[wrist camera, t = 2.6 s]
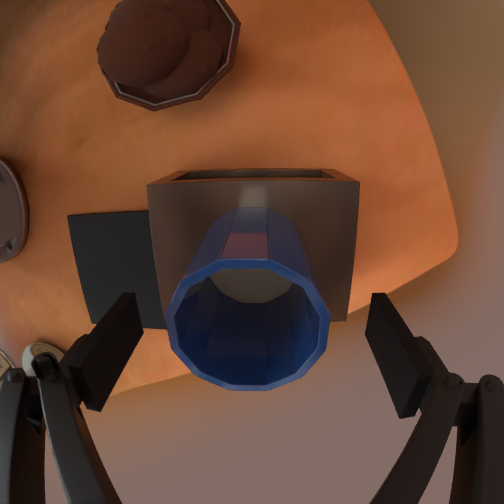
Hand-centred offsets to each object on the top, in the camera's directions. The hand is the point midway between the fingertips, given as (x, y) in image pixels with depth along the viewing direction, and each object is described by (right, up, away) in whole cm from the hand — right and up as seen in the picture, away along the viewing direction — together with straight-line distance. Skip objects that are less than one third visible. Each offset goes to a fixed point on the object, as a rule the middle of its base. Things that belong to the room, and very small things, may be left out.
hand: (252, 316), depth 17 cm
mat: (-15, +1, +19) cm, 24 cm away
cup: (0, +3, +8) cm, 8 cm away
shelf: (0, +6, +16) cm, 17 cm away
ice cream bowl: (-6, +22, +11) cm, 25 cm away
